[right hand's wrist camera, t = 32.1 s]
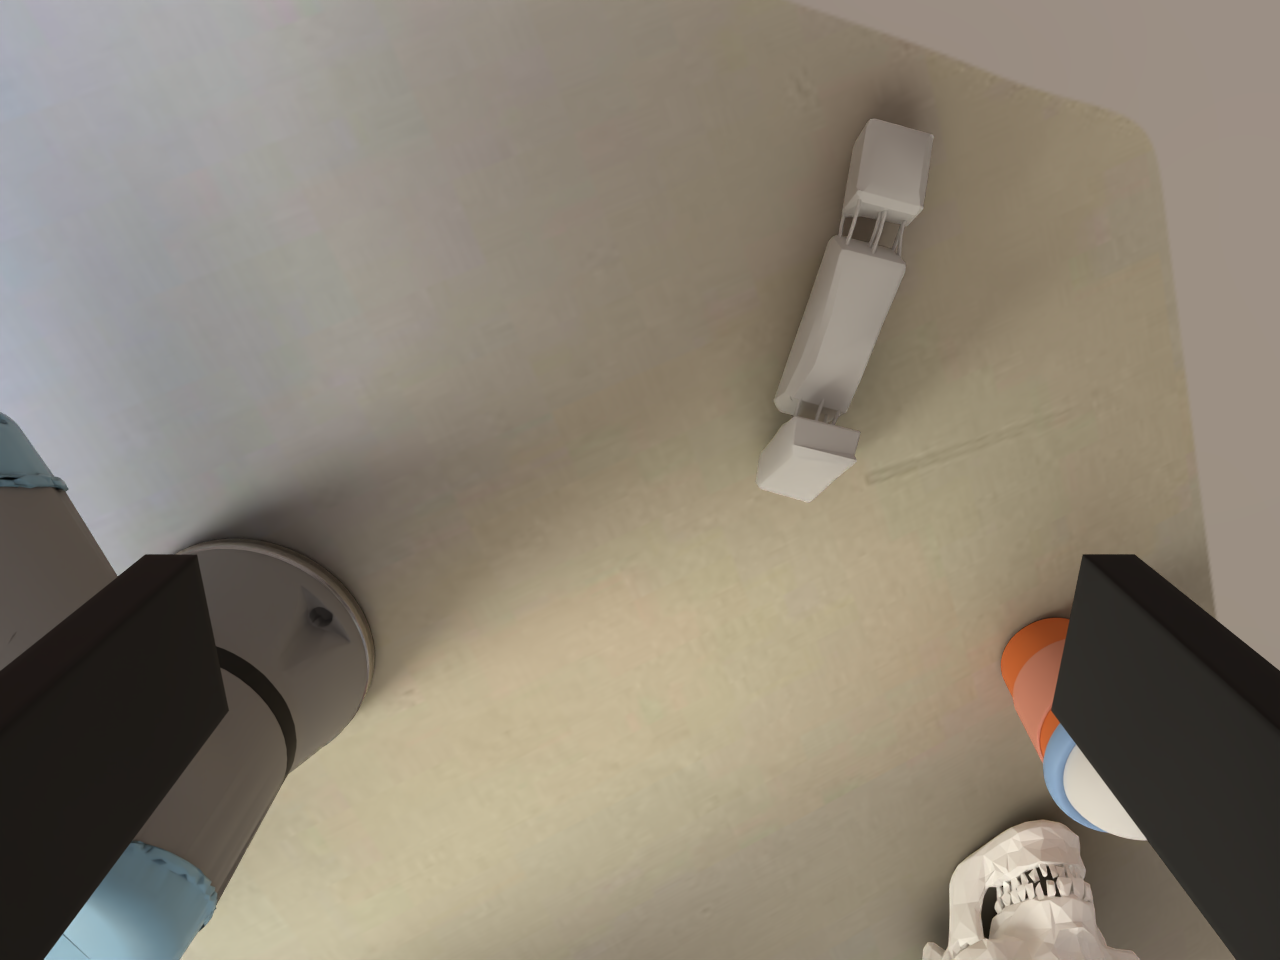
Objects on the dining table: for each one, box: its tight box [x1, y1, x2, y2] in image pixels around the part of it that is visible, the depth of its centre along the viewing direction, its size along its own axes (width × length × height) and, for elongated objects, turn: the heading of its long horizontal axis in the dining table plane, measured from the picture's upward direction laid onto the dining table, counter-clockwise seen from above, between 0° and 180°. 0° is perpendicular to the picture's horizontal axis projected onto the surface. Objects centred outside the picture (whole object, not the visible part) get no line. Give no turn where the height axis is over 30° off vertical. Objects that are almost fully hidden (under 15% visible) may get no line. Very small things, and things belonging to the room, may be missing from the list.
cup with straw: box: [1001, 618, 1147, 840], centre depth 46 cm, size 9×9×18 cm
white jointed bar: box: [756, 119, 934, 503], centre depth 44 cm, size 20×4×7 cm, turn 166°
